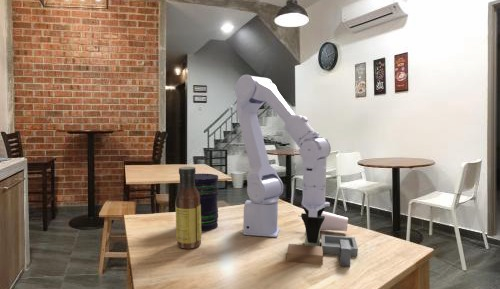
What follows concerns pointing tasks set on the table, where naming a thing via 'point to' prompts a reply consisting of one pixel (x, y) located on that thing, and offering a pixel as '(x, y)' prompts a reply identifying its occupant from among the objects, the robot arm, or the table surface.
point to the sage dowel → (312, 243)
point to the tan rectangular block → (305, 254)
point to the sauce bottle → (188, 210)
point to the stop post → (345, 253)
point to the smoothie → (333, 222)
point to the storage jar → (208, 200)
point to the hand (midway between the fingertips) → (312, 237)
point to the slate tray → (337, 244)
